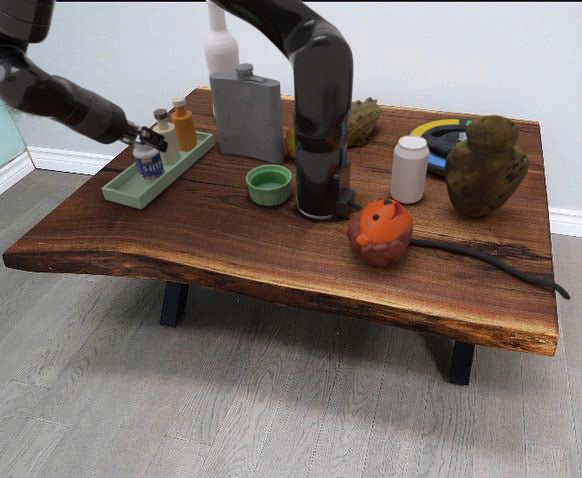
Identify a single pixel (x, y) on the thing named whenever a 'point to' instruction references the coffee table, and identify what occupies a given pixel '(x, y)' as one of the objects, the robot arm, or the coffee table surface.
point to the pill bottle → (148, 162)
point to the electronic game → (441, 139)
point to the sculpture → (485, 166)
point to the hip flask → (248, 114)
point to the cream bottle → (167, 138)
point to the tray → (140, 193)
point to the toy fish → (380, 232)
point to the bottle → (220, 44)
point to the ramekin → (269, 184)
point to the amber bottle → (183, 125)
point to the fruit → (290, 142)
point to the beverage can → (409, 169)
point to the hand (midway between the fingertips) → (148, 144)
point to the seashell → (362, 121)
